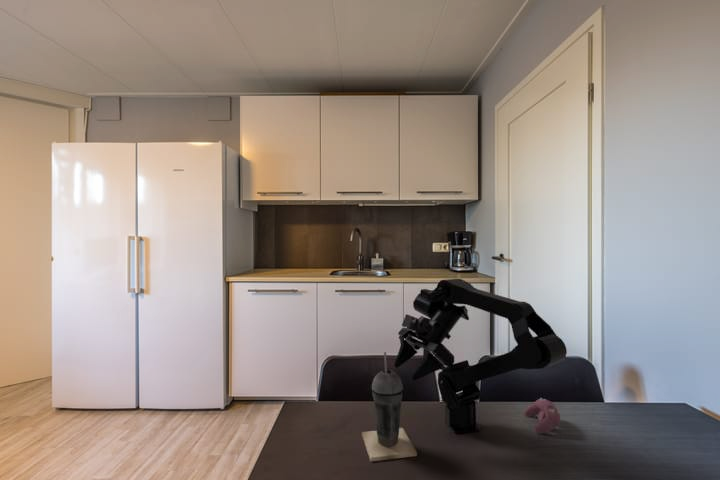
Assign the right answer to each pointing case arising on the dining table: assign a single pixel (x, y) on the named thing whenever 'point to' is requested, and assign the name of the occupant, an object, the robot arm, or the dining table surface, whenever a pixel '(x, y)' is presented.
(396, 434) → the beverage cup
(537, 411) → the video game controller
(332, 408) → the dining table surface
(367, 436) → the coaster board
